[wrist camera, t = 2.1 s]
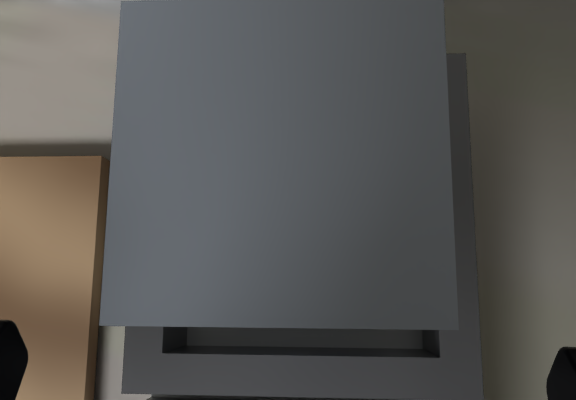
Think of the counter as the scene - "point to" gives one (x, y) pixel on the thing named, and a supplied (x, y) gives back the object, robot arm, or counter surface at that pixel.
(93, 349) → the walnut board
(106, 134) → the counter surface
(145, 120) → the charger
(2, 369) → the robot arm
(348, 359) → the power strip
